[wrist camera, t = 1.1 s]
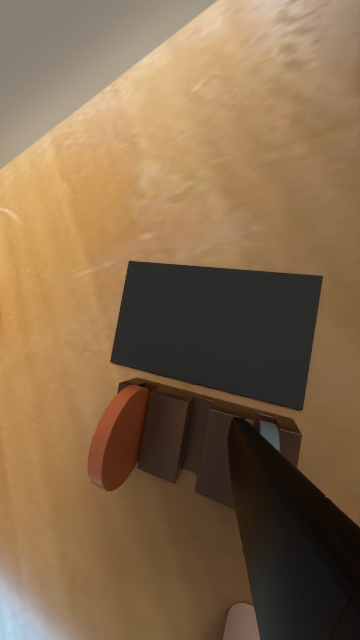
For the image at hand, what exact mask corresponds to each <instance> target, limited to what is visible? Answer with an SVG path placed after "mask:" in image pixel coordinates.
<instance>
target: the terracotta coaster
mask: <svg viewBox="0 0 360 640" xmlns="http://www.w3.org/2000/svg"><path fill="white" fill-rule="evenodd" d="M149 398H150V390H148V389H147V388H144V387H140V386H137V385H130V386H127V387H125V388H124V389H123V390H121V391H120V392H119V393H118V394H117V395H116V396H115V397H114V399H113V400H112V401H111V403H110V404H109V406H108V407H107V409H106V410H105V412H104V414H103V416H102V418H101V420H100V422H99V424H98V426H97V429H96V431H95V434H94V437H93V440H92V443H91V447H90V451H89V457H88V475H89V478H90V480H91V482H92V483H93V484H94V485H96V486H98V487H100V488H102V489H104V490H107V491H113V490H115V489H117V488H118V487H120V486H121V485H122V484H123V483H124V482H125V480H126V479H127V478H128V476H129V475H130V474H131V472H132V470H133V469H134V467H135V465H136V464H137V462H138V460H139V454H140V449H141V443H142V438H143V432H144V426H145V421H146V415H147V409H148V404H149Z"/></svg>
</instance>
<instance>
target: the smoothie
mask: <svg viewBox="0 0 360 640" xmlns="http://www.w3.org/2000/svg"><path fill="white" fill-rule="evenodd" d="M223 640H260V636H259V631H258V625H257V620H256V615H255V610H254V607H253V606H252V605H250V604H247V603H237V604H234V605H233V606H232V607H231V608H230V609H229V612H228V615H227V620H226V625H225V630H224V635H223Z"/></svg>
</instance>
